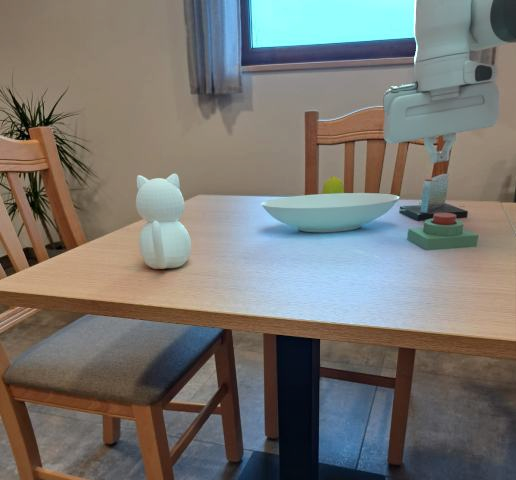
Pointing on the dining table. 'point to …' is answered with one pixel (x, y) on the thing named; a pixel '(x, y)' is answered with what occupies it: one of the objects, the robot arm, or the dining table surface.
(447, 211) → the plate
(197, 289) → the dining table surface
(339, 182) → the lemon
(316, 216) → the bowl
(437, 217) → the button
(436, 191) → the blue card stand
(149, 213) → the cat figurine
